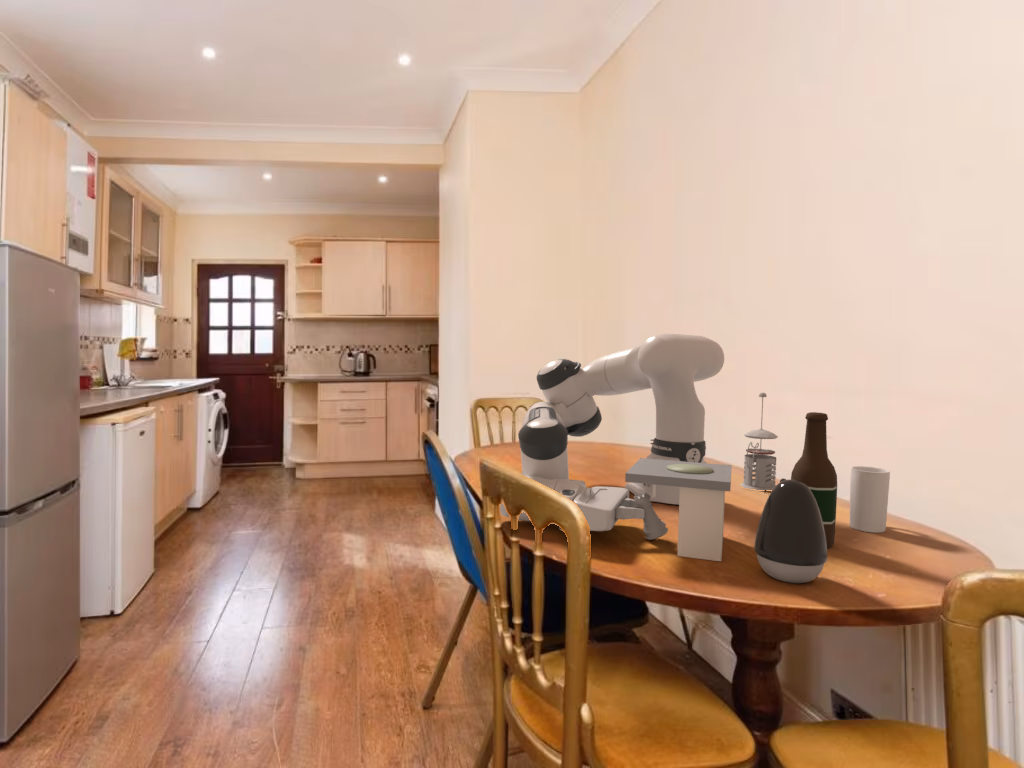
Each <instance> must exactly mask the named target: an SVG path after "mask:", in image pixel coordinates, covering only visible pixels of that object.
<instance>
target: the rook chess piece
mask: <svg viewBox="0 0 1024 768" xmlns="http://www.w3.org/2000/svg"><path fill="white" fill-rule="evenodd" d="M650 497H651V496H649V495H648V494H647V492H643V495H642V494H641V493H640V494H639V496H637V495H635V494H634V496H633V498H634V499H633V500H634V503H635V504H636V505H638V507H640V508H644V509H645V517H644V518H643V519H642V521H643V529H642V530H643V534H645V535H644V537H645V539H647V540H650V541H651V540H656V539H659V538H661V537H663V536H665V535H666V534H667V533H668V531H669V528H668V527H666V526H667V524H666V522H665V521H663V520H662V519H661V518H660V517H659V516H658V514H657V512H656V511H655V509H654V508H653V506H654V504H653V503H652V502H651V501H650Z"/></svg>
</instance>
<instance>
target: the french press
mask: <svg viewBox="0 0 1024 768" xmlns="http://www.w3.org/2000/svg"><path fill="white" fill-rule="evenodd" d="M758 397H759V398H761V415H763V412H764V411H763V409H764V398H767V393H766V392H760V393H759V394H758ZM760 421H761V422H760V428H759V429H752V430H750V431H748V432H746V433H745V434H744V437H745V438H750V439H755V440H756V439H757V440H775V439H777V438H778V437H779V436H778V435H777V434H775V432H774V433H773V432H771V431H769V430H767V429H763V417H761V419H760ZM759 445H760V446H759ZM750 446H751V448H750ZM759 447H760V448H759ZM745 451H746V454H744V456H743V457H744V459H743V460H744V462H743V464H744V466H743V482H741V483H740V484H739V485H741V486H742V487H744V488H749V489H756V490H773V489H774V488H775V486H776V485H777V484H776V475H777V472H776V470H777V467H776V466H777V457H776V456H772V455H774V454H775V453H776V451H775V450H772V449H764V448H762V441H759V442H756V444H755V446H754V445H753V442H752V441H750V443H749V444H748V447H747V449H745ZM754 477H755V478H754ZM744 488H743V489H744Z"/></svg>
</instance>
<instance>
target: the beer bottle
mask: <svg viewBox="0 0 1024 768" xmlns="http://www.w3.org/2000/svg"><path fill="white" fill-rule="evenodd" d="M804 418H805V419H806V424H805V425H806V427H805V435H804V445H803V450H802V454H801V457H800V458H798V460H797V462H796V463H795V464H794V466H793V469H792V471H791V475H790V480H791V479H792V480H798V481H800V482H802V483H804V484H805V485H807V486H808V488H809V489H810V490H811V492H812V493H813V495H814V497H815V499H816V502H817V504H818V507H819V510H820V514H821V517H822V521H823V525H824V530H825V536H826V543H827V550H828V549H830V548H832V546H833V545H834V544H835V538H836V522H837V502H838V501H837V499H838V496H837V495H838V474H837V471H836V469H835V466H834V465H833V463H832V462H831V460H830V459H829V457H828V456H829V454H828V449H827V447H828V446H827V445H828V443H827V442H828V441H827V439H828V438H827V421H828V420H829V417H828V414H827V413H825V412H816V411H814V412H807V413H806V415H805V417H804Z"/></svg>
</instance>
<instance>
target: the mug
mask: <svg viewBox="0 0 1024 768" xmlns="http://www.w3.org/2000/svg"><path fill="white" fill-rule="evenodd" d="M890 474H891V471H890V470H888V469H885V468H882V467H881V468H880V467H873V466H862V465H861V466H858V465H857V466H851V467H850V485H849V486H850V487H849V488H850V489H849V526H850V528H851V529H854V530H856V531H861V532H866V533H874V534H875V533H876V534H879V533H884V532H886V531H887V530H886V528H887V520H888V519H887V518H888V516H887V515H888V504H889V491H890V479H891V478H890V477H891V475H890Z"/></svg>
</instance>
